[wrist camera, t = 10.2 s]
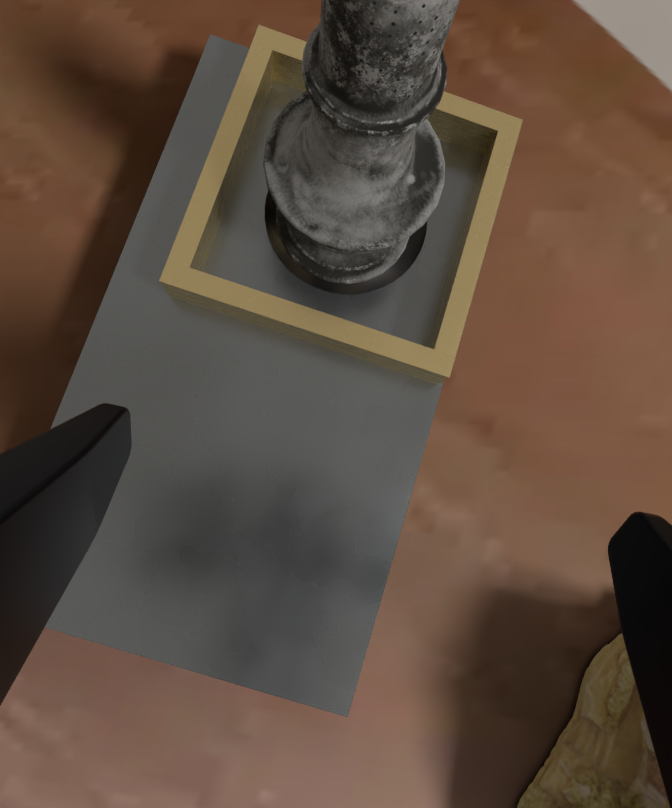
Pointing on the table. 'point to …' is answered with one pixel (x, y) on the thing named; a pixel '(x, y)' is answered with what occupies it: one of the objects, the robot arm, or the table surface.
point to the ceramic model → (602, 746)
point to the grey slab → (267, 397)
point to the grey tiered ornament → (361, 137)
